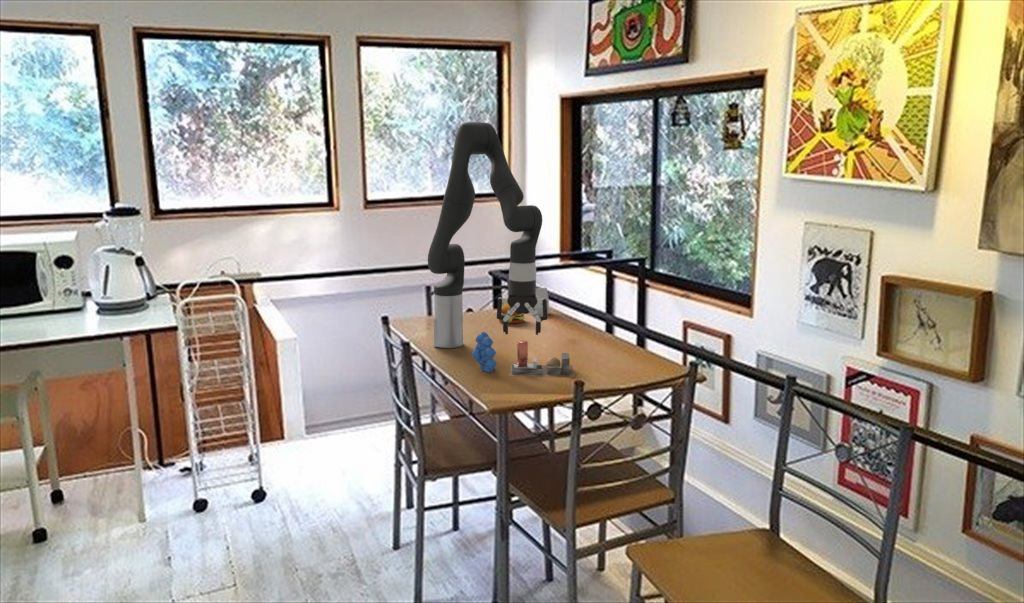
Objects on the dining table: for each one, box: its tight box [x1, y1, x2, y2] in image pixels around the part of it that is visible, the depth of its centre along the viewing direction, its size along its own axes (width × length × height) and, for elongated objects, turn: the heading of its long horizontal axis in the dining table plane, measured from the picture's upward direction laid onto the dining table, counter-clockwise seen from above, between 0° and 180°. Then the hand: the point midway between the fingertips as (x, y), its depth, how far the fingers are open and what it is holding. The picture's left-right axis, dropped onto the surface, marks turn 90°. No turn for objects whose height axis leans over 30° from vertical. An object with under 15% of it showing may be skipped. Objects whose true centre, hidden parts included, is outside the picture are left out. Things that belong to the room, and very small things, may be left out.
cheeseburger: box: [498, 302, 525, 325], centre depth 282 cm, size 10×11×10 cm
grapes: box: [471, 331, 497, 373], centre depth 218 cm, size 12×7×12 cm, turn 24°
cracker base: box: [509, 352, 575, 378], centre depth 217 cm, size 18×11×6 cm, turn 89°
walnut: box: [545, 356, 561, 366], centre depth 216 cm, size 4×4×4 cm
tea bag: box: [528, 287, 550, 316], centre depth 294 cm, size 4×7×10 cm, turn 116°
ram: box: [513, 340, 538, 370], centre depth 216 cm, size 6×4×8 cm, turn 89°
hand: (521, 333), depth 215 cm, fingers open, 8 cm apart
